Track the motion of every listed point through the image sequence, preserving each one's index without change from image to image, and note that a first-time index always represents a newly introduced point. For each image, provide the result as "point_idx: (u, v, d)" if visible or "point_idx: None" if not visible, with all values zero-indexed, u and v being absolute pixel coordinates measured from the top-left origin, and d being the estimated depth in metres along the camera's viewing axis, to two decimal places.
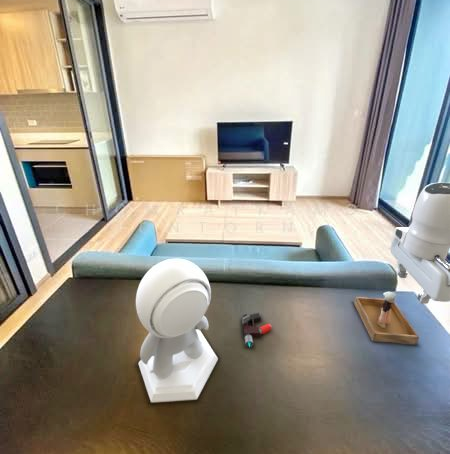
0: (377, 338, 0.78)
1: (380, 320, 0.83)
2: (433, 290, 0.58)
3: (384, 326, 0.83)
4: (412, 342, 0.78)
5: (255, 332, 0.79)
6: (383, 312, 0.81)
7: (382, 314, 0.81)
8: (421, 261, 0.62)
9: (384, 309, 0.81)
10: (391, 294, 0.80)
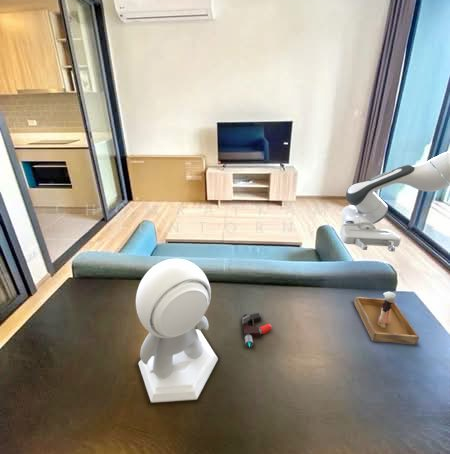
0: (377, 338, 0.78)
1: (380, 320, 0.83)
2: (395, 235, 0.94)
3: (384, 326, 0.83)
4: (412, 342, 0.78)
5: (255, 332, 0.79)
6: (383, 312, 0.81)
7: (382, 314, 0.81)
8: (374, 229, 0.98)
9: (384, 309, 0.81)
10: (391, 294, 0.80)
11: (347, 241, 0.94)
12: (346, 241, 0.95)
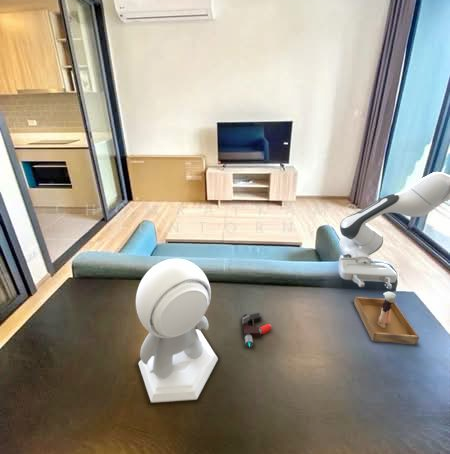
0: (377, 338, 0.78)
1: (380, 320, 0.83)
2: (392, 271, 0.96)
3: (384, 326, 0.83)
4: (412, 342, 0.78)
5: (255, 332, 0.79)
6: (383, 312, 0.81)
7: (382, 314, 0.81)
8: (371, 264, 1.00)
9: (384, 309, 0.81)
10: (391, 294, 0.80)
11: (344, 277, 0.96)
12: (344, 277, 0.96)
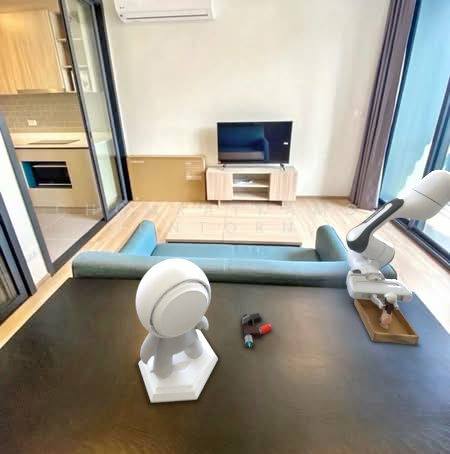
0: (377, 338, 0.78)
1: (383, 322, 0.83)
2: (406, 289, 0.86)
3: (388, 327, 0.82)
4: (412, 342, 0.78)
5: (255, 332, 0.79)
6: (388, 315, 0.80)
7: (387, 317, 0.80)
8: (383, 281, 0.90)
9: (388, 312, 0.80)
10: (393, 295, 0.80)
11: (354, 296, 0.87)
12: (353, 296, 0.87)
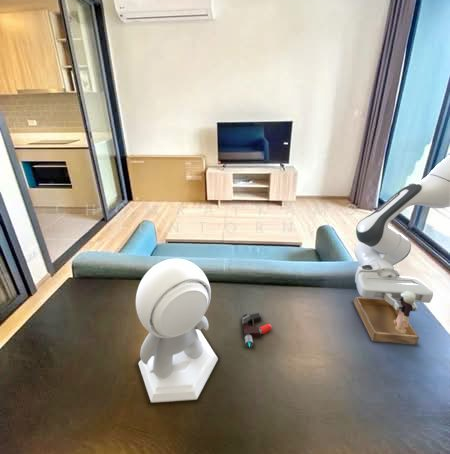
0: (377, 338, 0.78)
1: (400, 325, 0.71)
2: (425, 287, 0.75)
3: (405, 331, 0.71)
4: (412, 342, 0.78)
5: (255, 332, 0.79)
6: (406, 317, 0.68)
7: (405, 320, 0.69)
8: (398, 278, 0.79)
9: (406, 313, 0.69)
10: (411, 294, 0.68)
11: (365, 295, 0.75)
12: (364, 295, 0.76)
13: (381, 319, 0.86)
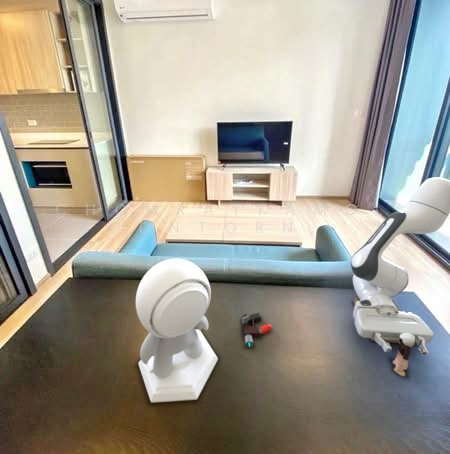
0: None
1: (399, 368, 0.69)
2: (426, 327, 0.73)
3: (404, 374, 0.69)
4: None
5: (255, 332, 0.79)
6: (405, 361, 0.66)
7: (404, 363, 0.67)
8: (397, 315, 0.77)
9: (405, 357, 0.67)
10: (411, 337, 0.67)
11: (363, 335, 0.73)
12: (362, 334, 0.73)
13: None
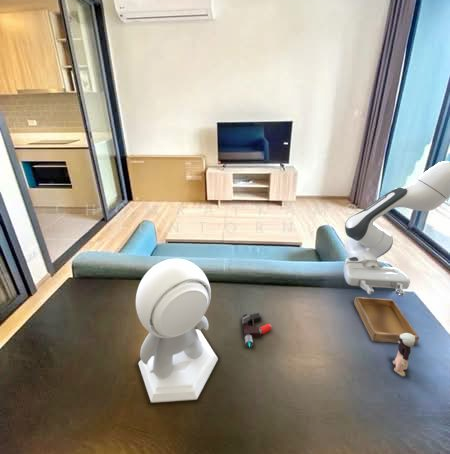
0: (377, 338, 0.78)
1: (399, 368, 0.69)
2: (404, 276, 0.86)
3: (404, 374, 0.69)
4: None
5: (255, 332, 0.79)
6: (405, 361, 0.66)
7: (404, 363, 0.67)
8: (380, 268, 0.90)
9: (405, 357, 0.67)
10: (411, 337, 0.67)
11: (351, 283, 0.86)
12: (350, 282, 0.86)
13: (381, 319, 0.86)
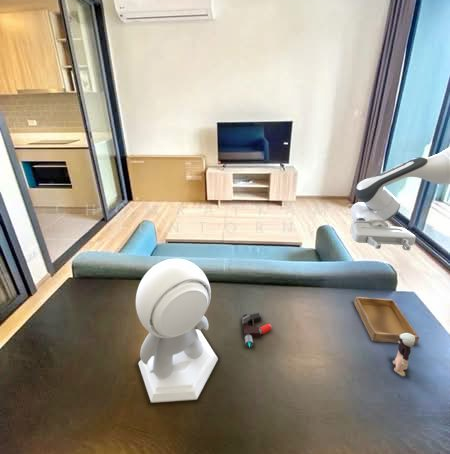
0: (377, 338, 0.78)
1: (399, 368, 0.69)
2: (409, 233, 0.89)
3: (404, 374, 0.69)
4: None
5: (255, 332, 0.79)
6: (405, 361, 0.66)
7: (404, 363, 0.67)
8: (386, 227, 0.93)
9: (405, 357, 0.67)
10: (411, 337, 0.67)
11: (358, 240, 0.89)
12: (358, 239, 0.90)
13: (381, 319, 0.86)
